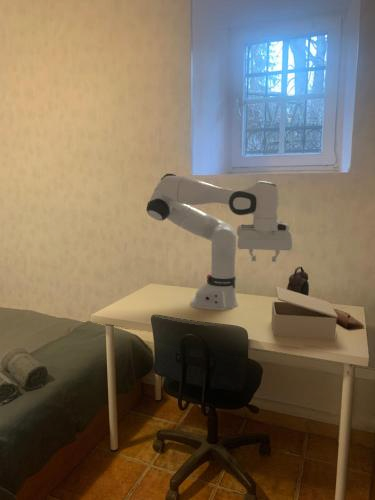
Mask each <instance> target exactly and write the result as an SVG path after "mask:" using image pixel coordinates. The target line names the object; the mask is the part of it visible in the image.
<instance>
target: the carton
mask: <svg viewBox="0 0 375 500" xmlns="http://www.w3.org/2000/svg"><path fill="white" fill-rule="evenodd" d="M336 320H337V318H336V317H333V316H330V315H326V314H323V313H320V312H316V311H313V310H310V309H306V308H303V307H300V306H296V305H293V304H290V303H286V302H283V301H275V300H273V301H272V305H271V327H272V332H273V337H280V338H291V339H292V338H294V339H308V340H319V341H321V340H322V341H334V342H335V341H336V333H337V330H336V329H337V322H336Z"/></svg>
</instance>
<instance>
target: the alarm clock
mask: <svg viewBox="0 0 375 500" xmlns="http://www.w3.org/2000/svg"><path fill="white" fill-rule="evenodd" d="M299 270H300V271H299ZM308 280H309V275H308V273H307V272H306V271H305V269H303V267H302V266H297V267H296V268H295V269H294V273H293V274H291V275H290V276H289V278H288V283H287V287H286V289H287V290H290V291H293V292H297V293H300V294H304V295H307V296H309V291H310V285H309V282H308Z"/></svg>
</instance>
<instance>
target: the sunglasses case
mask: <svg viewBox="0 0 375 500" xmlns="http://www.w3.org/2000/svg"><path fill="white" fill-rule="evenodd" d="M332 308H333V309H334V311H335V313H336V314H337V316H338V317H337V320H336V323H337V324H339V325H340V326H342V327H344V328H345V329H347V330H359V329H362V328H364V327H365V325H364V324H363V323H362V322H361V321H359V319H356V318H355V317H354V316H352V315H351V314H350V313H348V312H345V311H343V310H340V309H337V308H334V307H332Z"/></svg>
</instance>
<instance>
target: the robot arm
mask: <svg viewBox="0 0 375 500" xmlns="http://www.w3.org/2000/svg"><path fill="white" fill-rule="evenodd" d="M215 203H218V204H224V205H228V206H229V209H230V211H231V212H232V213H233V214H235V215H237V216H247V215H251V214H252V215H253V218H252V219H253V220H252V224H241V225H239V226H238V227H237V228H236V231H235V229H234V228H233V226H232V225H231V224H229V223H228V222H226V221H223V220H222V219H220V218H217V217H214V216H213V215H211V214H208V213H206V212H204V211H202V210H200V209H198V208H196V207H195V206H198V205H199V206H200V205H205V204H206V205H207V204H215ZM278 206H279V189H278V186H277V185H276V183H274V182H271V181H268V180H267V181H265V180H257V181H256V182H255V183H253V184H252V185H250V186H248V187H245V188H241V189H239V190H238V189H232V188H225V187H221V186H220V187H219V186H216V185H213V184H210V183H207V182H205V181H202V180H200V179H197V178H193V177H189V176H184V175H183V176H182V175H176V174H174V173H166V174H164V175H163V176H162V177H161V179H160V181H159V183H158V184H157V185H156V187H155V189H154V190H153V192H152V195H151V196H150V199H149V201H148V203H147V205H146V210H145V211H146V212H147V214H148V215H149V217H150V218H153V219H154V220H157V221H164V220H166V219H167V220H169V221H170V222H171V223H173V224H174V225H175V226H177V227H179V228H181V229H183V230H185V231H187V232H190V233H191V234H193V235H194V236H198V237H201V238H203V239H205V240H209V241H211V267H210V268H211V272H210V273H211V274H210V273H208V274H207V275H206V283H205V284H203V285H202V286H201V287H200V288H198V289H197V291H196V293H195V297H193V298H192V299H191V300H190V303H189V304H190V306H191V307H192V308H198V309H207V310H213V311H225V310H230V309H234V308H236V307H237V306H238V301H237V297H236V284H237V283H236V276H235V274H236V273H235V271H236V253H237V251H236V250H237V249H236V248H238V249H239V250H248V253H249V254H250V257H251V261H252V262H255V261H256V260H257V259H256V255H254V254H253V252H254V250H257V251H258V250H262V251H265V250H266V251H275V254H274V255H272V256H271V262H273V263H274V262H277V257H278V256H279V254H280V251H291V250H292V249H293V239H292V234H291V231H290V225H289V224H288V223H286V222H283V221H279V220H278V213H277V212H278V211H277V210H278ZM237 236H238V238H237Z"/></svg>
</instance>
